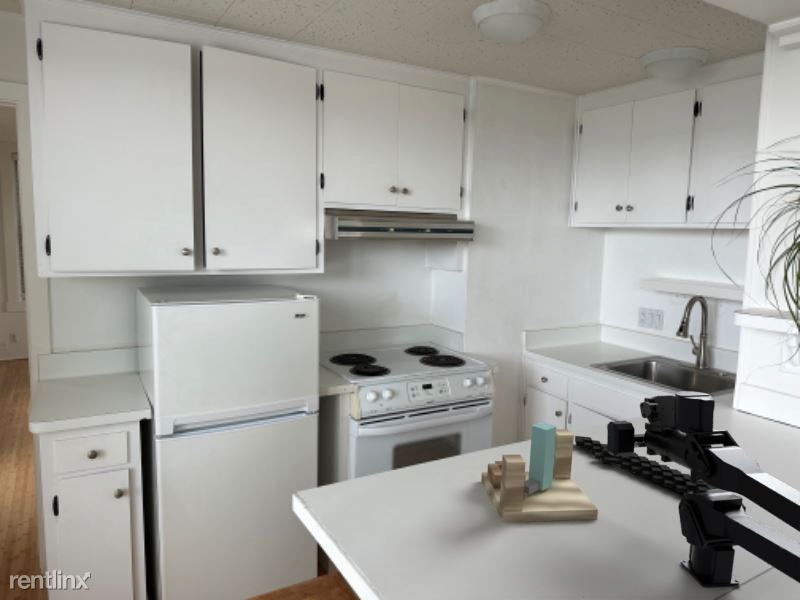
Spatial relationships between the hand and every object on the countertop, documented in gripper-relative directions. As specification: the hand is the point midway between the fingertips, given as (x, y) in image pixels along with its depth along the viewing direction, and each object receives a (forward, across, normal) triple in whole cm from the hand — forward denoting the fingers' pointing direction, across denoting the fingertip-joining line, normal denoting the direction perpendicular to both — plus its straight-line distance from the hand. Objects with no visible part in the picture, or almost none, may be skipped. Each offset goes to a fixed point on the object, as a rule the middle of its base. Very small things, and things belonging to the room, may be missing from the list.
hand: (627, 425), depth 115 cm
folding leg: (+4, +19, +13) cm, 23 cm away
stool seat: (+5, +18, +16) cm, 24 cm away
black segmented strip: (+12, -13, +16) cm, 24 cm away
